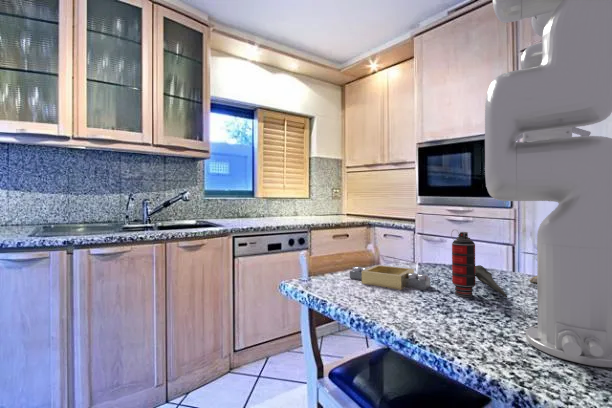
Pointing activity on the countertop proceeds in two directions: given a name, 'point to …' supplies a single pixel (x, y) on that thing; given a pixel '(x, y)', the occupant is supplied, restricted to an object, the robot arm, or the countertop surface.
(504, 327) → the countertop surface
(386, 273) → the chain joint
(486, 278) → the tool
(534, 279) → the insect
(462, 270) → the grenade
